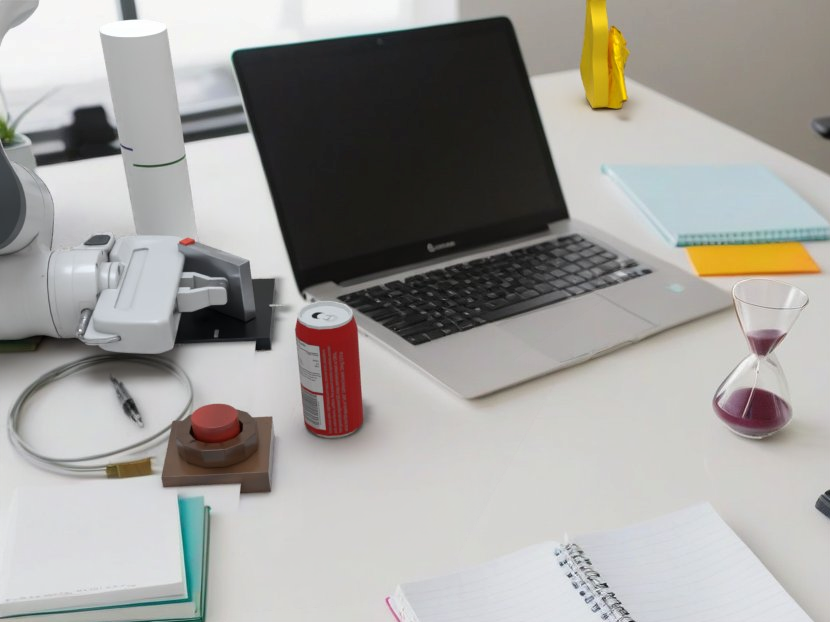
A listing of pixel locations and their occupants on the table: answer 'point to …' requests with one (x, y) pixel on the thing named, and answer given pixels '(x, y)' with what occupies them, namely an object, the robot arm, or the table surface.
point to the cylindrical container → (149, 127)
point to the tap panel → (233, 321)
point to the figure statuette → (603, 59)
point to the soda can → (329, 368)
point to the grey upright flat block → (222, 266)
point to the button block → (222, 456)
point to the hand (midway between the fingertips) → (227, 290)
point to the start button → (215, 423)
